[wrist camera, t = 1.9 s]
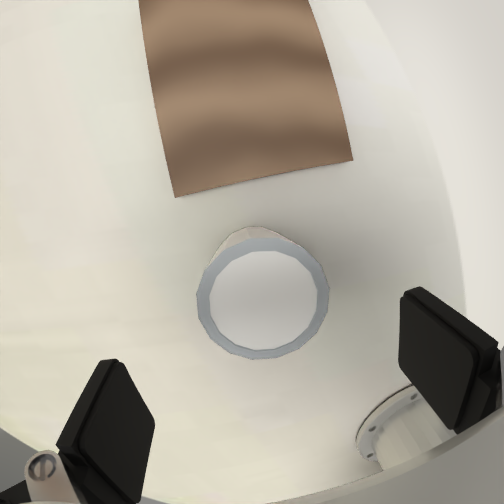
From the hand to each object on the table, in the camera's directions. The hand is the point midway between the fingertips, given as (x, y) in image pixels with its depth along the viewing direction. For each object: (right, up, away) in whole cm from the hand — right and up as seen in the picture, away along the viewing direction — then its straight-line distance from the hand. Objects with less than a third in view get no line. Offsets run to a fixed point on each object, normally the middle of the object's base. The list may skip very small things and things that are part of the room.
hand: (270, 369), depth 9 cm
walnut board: (-1, +16, +9) cm, 19 cm away
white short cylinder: (0, +3, +13) cm, 13 cm away
